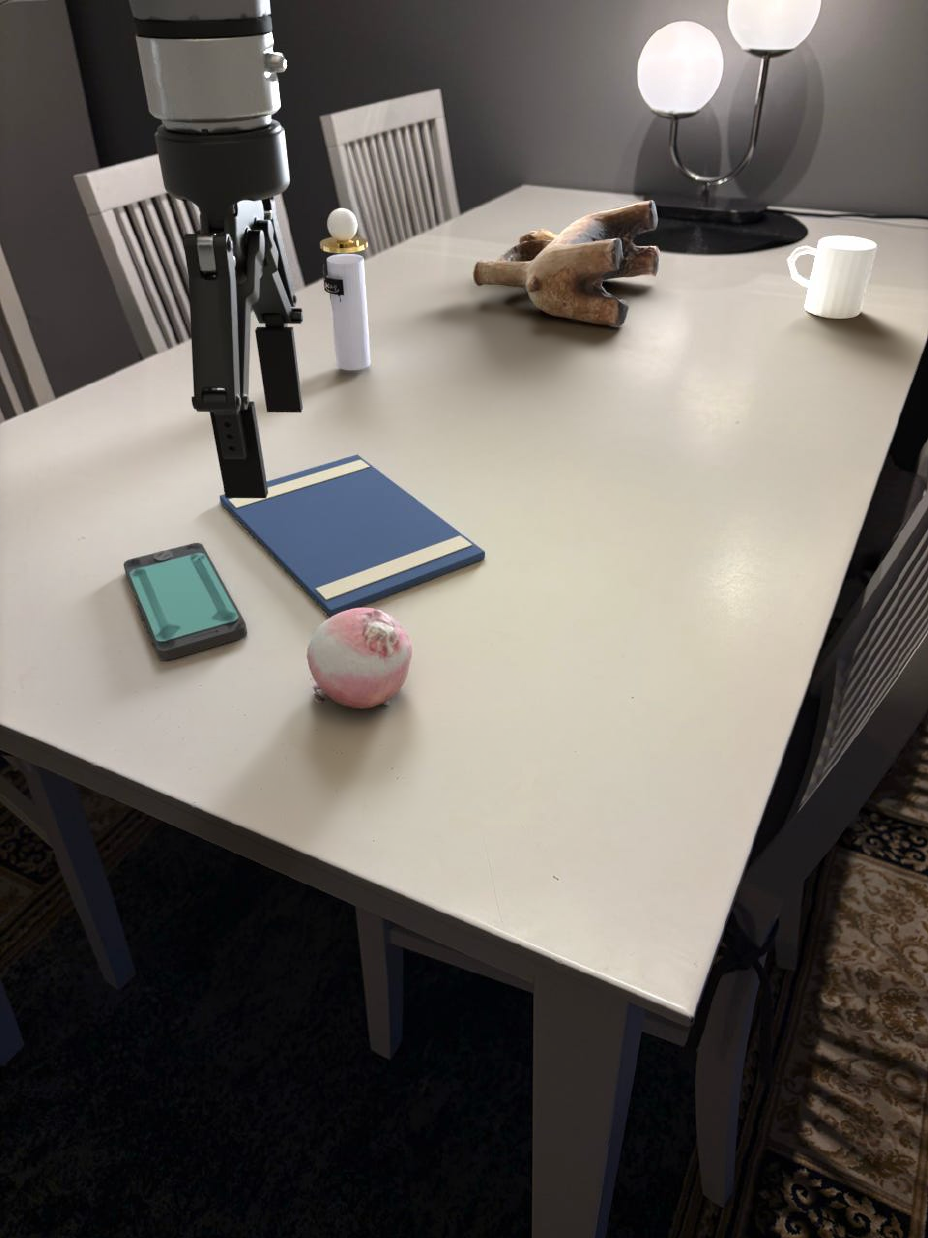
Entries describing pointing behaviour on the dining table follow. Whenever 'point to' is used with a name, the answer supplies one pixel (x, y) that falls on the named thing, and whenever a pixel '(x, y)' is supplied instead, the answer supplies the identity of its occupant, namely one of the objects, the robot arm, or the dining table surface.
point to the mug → (836, 275)
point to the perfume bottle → (347, 291)
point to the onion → (359, 658)
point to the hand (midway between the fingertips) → (267, 450)
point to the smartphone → (183, 601)
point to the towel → (351, 534)
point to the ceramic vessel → (579, 264)
